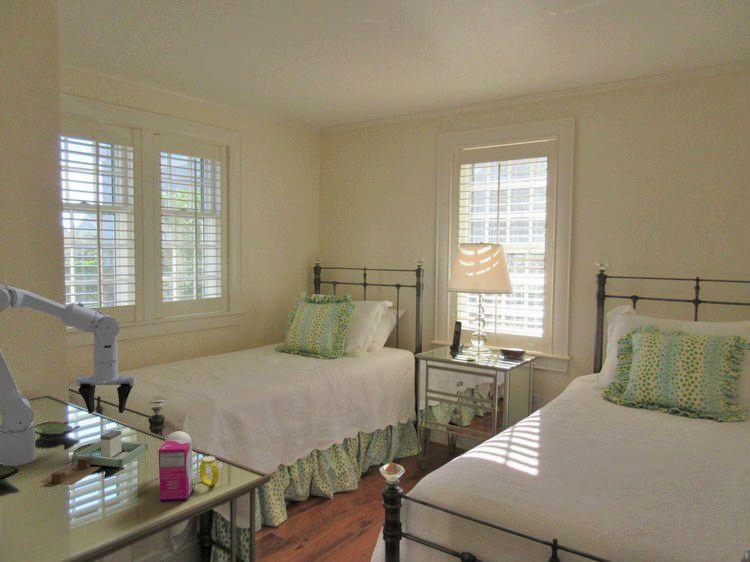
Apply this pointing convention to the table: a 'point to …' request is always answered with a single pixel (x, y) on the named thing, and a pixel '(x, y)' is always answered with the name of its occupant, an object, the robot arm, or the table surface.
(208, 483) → the watch
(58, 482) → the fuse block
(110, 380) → the robot arm
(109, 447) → the block
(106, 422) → the table surface
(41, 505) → the table surface
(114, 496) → the table surface
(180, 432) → the lightbulb
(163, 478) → the supplement box
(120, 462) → the parts tray
